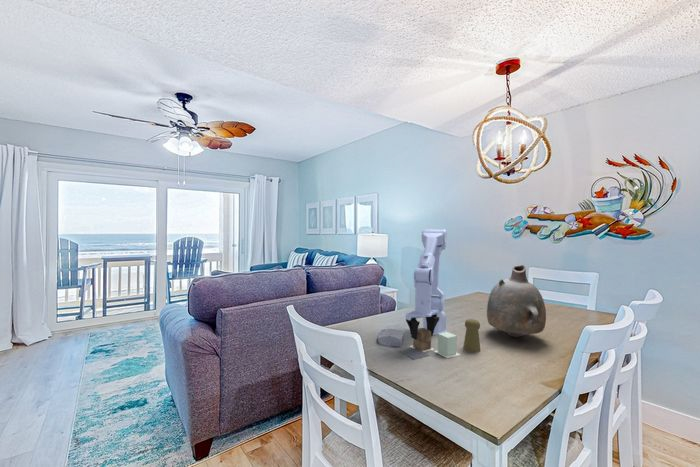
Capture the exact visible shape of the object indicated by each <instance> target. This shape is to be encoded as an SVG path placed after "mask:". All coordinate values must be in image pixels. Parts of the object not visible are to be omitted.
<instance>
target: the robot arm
mask: <svg viewBox="0 0 700 467" xmlns="http://www.w3.org/2000/svg"><path fill="white" fill-rule="evenodd" d="M447 234H448V233H447V230H446V229H445V228H443V229H430V228H429V229H426V228H423V229H422V231H421V242H422V245H423V247H424V251H423V253H422V254H421V255H420V256H419V261H418V263H417V267H416V268H415V269H414V272H413V283H414V285H413V286H414V288H415V290H414V291H415V292H414V293H415V296H414V297H415V298H414V311H411V312H407V313H405V321H406V323H407V326H408V327H409V331H410V336H411V338H412V339H417V332H418V328H419V327H420V323H421V322H420V321H418V320H417V319H422V328H425V329H427V330H429V331H431V337H433V336H435V335H437V336H438V334H439V333H444V332H448V330H447V315H446V313H445V311H444V310H445V307H446V306H445V305H446V304H445V303H446V302H445V300H446V299H445V293H444V292H443V291H442V290H441V289H440V288H439V283H440V282H439V281H440V280H439V277H440V267H441V266H440V265H441V264H440V263H441V262H440V261H441V260H440V259H441V254H442V251H444V250H446V247H447V240H448V238H447Z"/></svg>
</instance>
